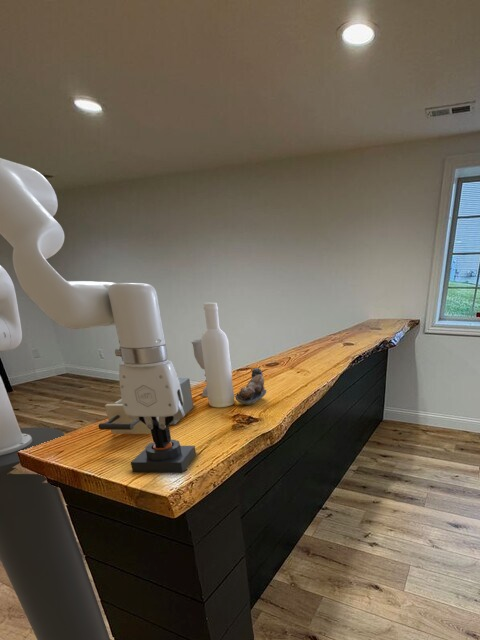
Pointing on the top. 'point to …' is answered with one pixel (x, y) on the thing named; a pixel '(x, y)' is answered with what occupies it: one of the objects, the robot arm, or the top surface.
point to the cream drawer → (122, 421)
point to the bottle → (216, 360)
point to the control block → (164, 458)
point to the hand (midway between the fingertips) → (163, 444)
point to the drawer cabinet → (185, 396)
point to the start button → (163, 448)
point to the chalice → (199, 359)
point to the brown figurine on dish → (252, 389)
